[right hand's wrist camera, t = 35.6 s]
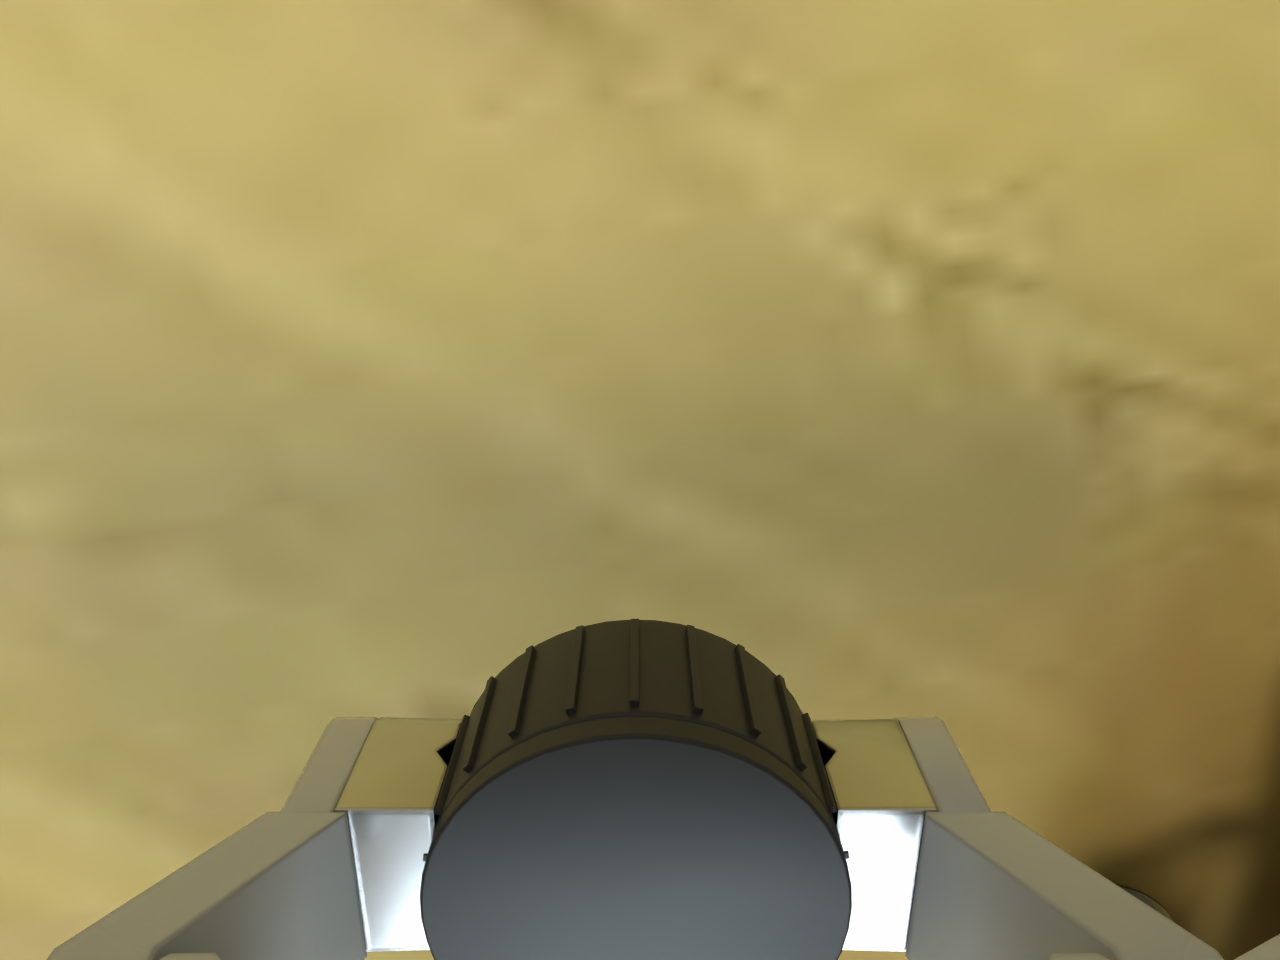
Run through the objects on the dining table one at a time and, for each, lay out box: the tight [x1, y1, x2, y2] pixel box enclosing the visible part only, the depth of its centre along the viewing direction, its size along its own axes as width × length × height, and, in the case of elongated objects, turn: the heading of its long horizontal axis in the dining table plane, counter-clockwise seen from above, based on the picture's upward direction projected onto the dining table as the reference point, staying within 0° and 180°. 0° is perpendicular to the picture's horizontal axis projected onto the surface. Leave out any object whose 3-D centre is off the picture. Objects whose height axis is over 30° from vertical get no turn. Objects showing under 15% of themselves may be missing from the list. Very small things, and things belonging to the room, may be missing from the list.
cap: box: [420, 619, 852, 960], centre depth 9 cm, size 4×4×2 cm
